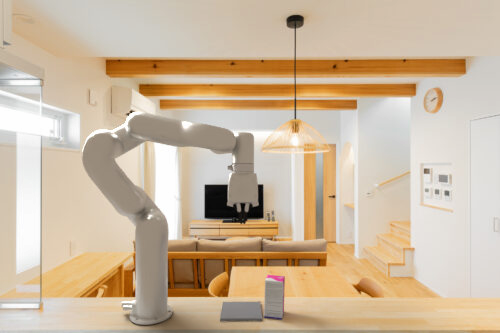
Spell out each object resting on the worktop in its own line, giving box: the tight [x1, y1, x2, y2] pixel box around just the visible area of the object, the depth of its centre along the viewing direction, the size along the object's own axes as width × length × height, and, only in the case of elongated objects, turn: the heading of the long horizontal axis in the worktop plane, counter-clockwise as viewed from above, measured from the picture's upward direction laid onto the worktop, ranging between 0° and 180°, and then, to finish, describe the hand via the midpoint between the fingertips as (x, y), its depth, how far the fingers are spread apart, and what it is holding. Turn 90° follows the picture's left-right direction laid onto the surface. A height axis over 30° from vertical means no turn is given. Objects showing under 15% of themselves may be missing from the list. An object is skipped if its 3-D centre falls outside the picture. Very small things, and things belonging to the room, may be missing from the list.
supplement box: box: [263, 274, 286, 321], centre depth 97 cm, size 6×6×12 cm
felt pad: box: [219, 301, 263, 322], centre depth 98 cm, size 12×12×1 cm
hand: (242, 223), depth 105 cm, fingers closed
